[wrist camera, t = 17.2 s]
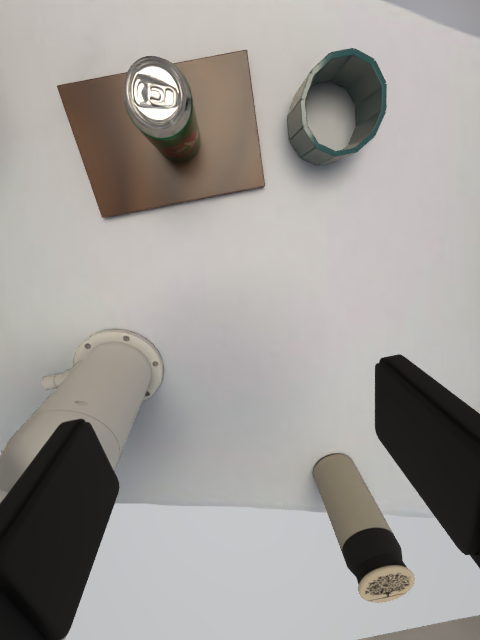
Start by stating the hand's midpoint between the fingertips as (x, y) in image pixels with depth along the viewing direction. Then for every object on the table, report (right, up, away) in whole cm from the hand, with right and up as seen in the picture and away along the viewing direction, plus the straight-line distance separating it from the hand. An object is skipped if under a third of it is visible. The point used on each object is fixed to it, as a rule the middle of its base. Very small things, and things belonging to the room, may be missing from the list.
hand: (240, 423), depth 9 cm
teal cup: (+10, +26, +23) cm, 37 cm away
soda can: (-7, +24, +22) cm, 33 cm away
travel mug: (+18, -25, +44) cm, 54 cm away
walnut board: (-8, +24, +23) cm, 34 cm away
